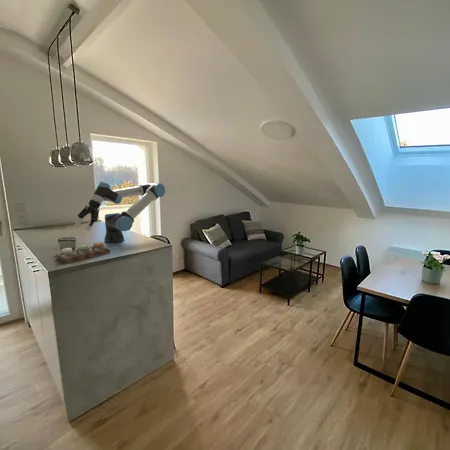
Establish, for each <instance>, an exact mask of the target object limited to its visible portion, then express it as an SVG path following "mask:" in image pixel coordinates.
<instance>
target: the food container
mask: <svg viewBox="0 0 450 450" xmlns="http://www.w3.org/2000/svg"><path fill="white" fill-rule="evenodd" d="M76 242H77V239H76V237H75V236H71V237H69V236H68V237H61V238H58V239H57V243H58V245H59V250H60V251H61V250H62V249H64V248H72V250H73V251H74V249H77V248H76Z"/></svg>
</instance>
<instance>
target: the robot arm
mask: <svg viewBox="0 0 450 450" xmlns="http://www.w3.org/2000/svg"><path fill="white" fill-rule="evenodd" d="M165 194H166V188H165V186H164V184H163V183H159V182H147V183H143V184H139V185H138V184H137V186H133V187H132V186H131V187H126V188H125V187H124V188H117V189H111V185H110V184H109V183H107V182H106V181H100V182H99V184H98V185H97V187H96V189H95V190H94V193H93V194H92V197H91V198H90V200H89V202H88V205H85V206H84V208H83V209H82V210H81V211H80V212H79V213H78V214H77V217H78V218H77V220H76V222H75V224H74V227H77V228H79V227H80V225H81V223H82V222H83V220H84V217H86V216H87V215H88V214H90V220H89V221H88V223H87V225H86V227H85V230H86V231H90V230H91V228H92V226H93V225H94V223H95V222H96V223H97V222H98V218H99V212H100V207H101V205H102V203H103V201H104V202H112V203H113V204H116V205H119V204H120V203H121V202H122V199H123V198H130V197H136V196H140V198H138V199H137V201H136V202H134V204H132V205H131V206H130V207H129V208H128V209H127V210H126V211H124V210H123V211H121V213H119V212H115V213H106V214H105V215H104V224H105V226H104V227H105V235H104V238H103V239H104V243H107V244H115V243H121V242H123V240H124V241H125V237H124V234H123V232H128V231H129V230H131V229H132V227H133V224H134V222H135V218H137V216H138V215H140V214H141V213H142V211H144V210H145V209H146V208H147V207H148V206H149V205H150V204H151V203H152V202H153V201H156V200H158V199H159V198H162V197H163V196H165Z"/></svg>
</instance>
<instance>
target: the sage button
mask: <svg viewBox="0 0 450 450" xmlns="http://www.w3.org/2000/svg"><path fill="white" fill-rule="evenodd" d="M88 247H89V245H88V244H82V245H78V246H77V249H78V250H79V251H84V250H88Z"/></svg>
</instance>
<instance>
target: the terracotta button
mask: <svg viewBox="0 0 450 450" xmlns="http://www.w3.org/2000/svg"><path fill="white" fill-rule="evenodd" d="M103 245H104V243H103V242H102V241H97V242H94V243H93V244H92V246H94V248H98V247H103Z"/></svg>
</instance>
